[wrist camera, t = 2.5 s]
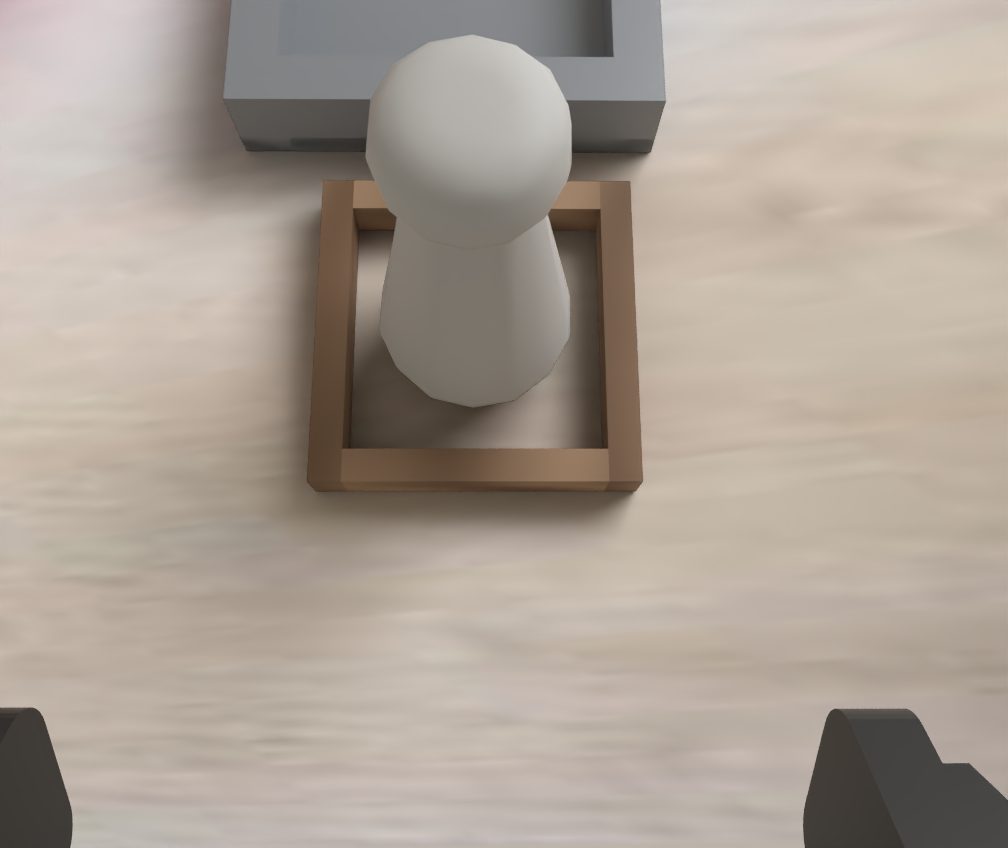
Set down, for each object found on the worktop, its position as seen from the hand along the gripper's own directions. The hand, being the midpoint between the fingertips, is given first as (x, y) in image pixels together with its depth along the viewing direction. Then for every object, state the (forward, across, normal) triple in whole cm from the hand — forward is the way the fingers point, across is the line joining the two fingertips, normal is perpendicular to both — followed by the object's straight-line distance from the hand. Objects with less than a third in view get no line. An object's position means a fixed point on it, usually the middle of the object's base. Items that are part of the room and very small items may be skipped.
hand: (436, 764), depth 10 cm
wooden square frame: (+22, 0, +5) cm, 22 cm away
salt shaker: (+22, 0, +5) cm, 22 cm away
